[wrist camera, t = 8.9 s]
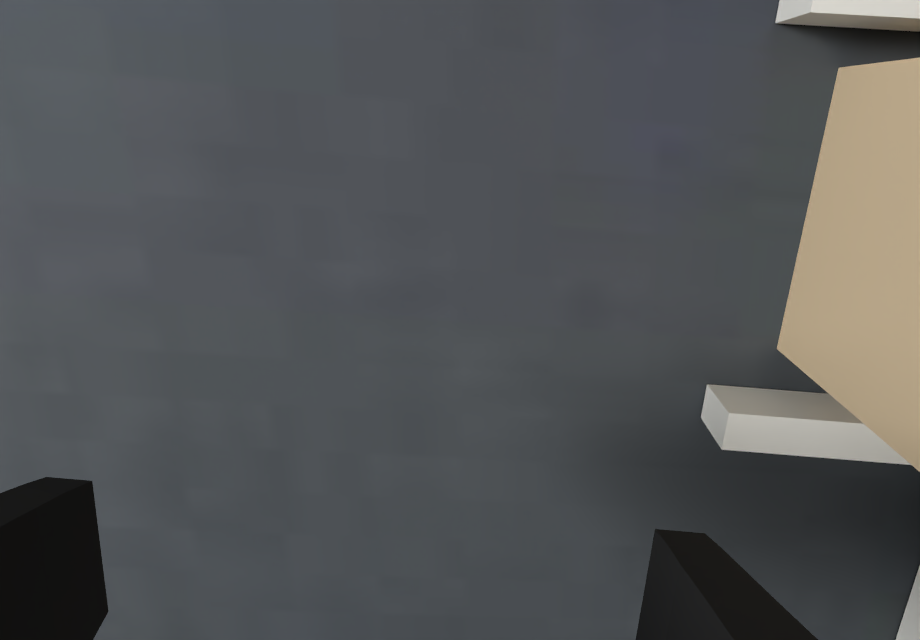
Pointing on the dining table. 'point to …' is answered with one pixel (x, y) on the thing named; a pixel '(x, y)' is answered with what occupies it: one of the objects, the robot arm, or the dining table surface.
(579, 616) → the dining table surface
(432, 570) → the dining table surface
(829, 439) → the white letter f
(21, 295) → the dining table surface
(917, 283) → the box
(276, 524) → the dining table surface
